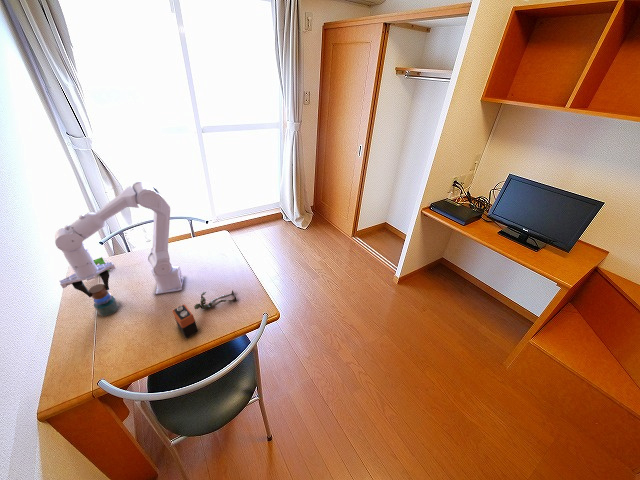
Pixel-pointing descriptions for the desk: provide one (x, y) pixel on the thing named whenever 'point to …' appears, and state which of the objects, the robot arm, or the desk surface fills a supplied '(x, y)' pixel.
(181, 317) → the battery
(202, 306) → the zombie figurine
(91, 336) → the desk surface
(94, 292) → the brown short cylinder
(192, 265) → the desk surface
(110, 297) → the ink bottle
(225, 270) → the desk surface
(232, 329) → the desk surface
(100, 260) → the geometric puzzle
